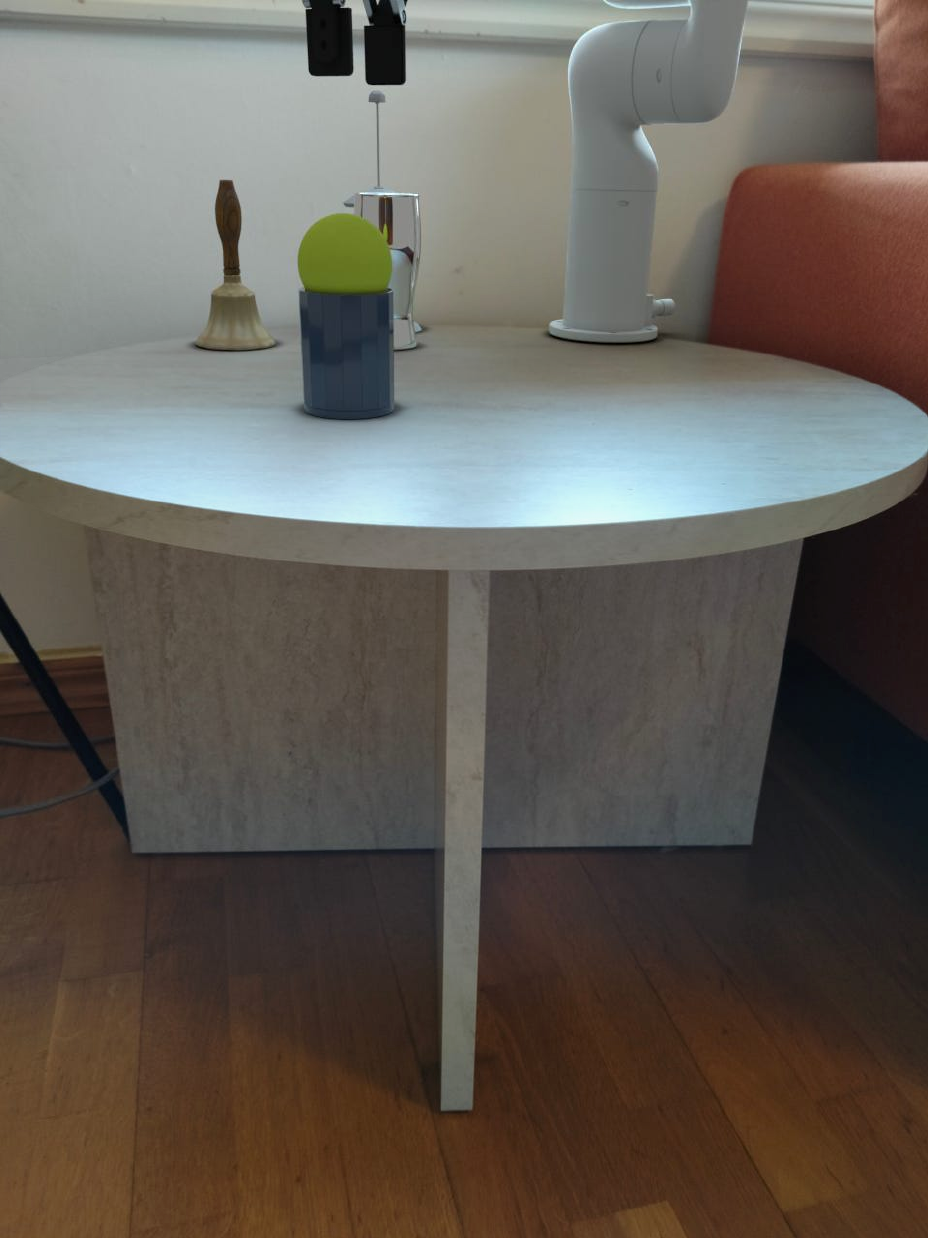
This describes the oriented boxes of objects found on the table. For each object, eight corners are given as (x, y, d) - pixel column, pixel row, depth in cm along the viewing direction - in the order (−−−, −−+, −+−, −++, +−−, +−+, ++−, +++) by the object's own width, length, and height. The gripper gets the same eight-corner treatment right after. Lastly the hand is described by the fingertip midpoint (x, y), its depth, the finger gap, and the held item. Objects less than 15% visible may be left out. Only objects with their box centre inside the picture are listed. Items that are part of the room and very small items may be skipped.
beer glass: (411, 352, 102) (411, 194, 96) (347, 348, 103) (342, 193, 97) (427, 342, 108) (428, 193, 102) (366, 339, 109) (363, 192, 103)
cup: (366, 396, 82) (364, 282, 78) (410, 412, 77) (409, 292, 73) (289, 405, 78) (283, 286, 75) (329, 423, 73) (325, 296, 69)
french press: (391, 337, 111) (388, 85, 100) (309, 328, 116) (299, 87, 106) (437, 327, 118) (439, 92, 108) (359, 319, 124) (353, 94, 113)
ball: (364, 306, 79) (363, 212, 76) (409, 316, 74) (410, 215, 71) (283, 309, 75) (279, 210, 73) (325, 320, 70) (322, 213, 67)
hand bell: (288, 340, 107) (280, 180, 101) (255, 352, 100) (244, 180, 93) (218, 336, 109) (206, 178, 102) (181, 347, 102) (165, 178, 95)
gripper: (348, -269, 57) (358, 71, 64) (448, -180, 72) (447, 87, 79) (233, -255, 59) (256, 72, 66) (353, -172, 74) (361, 88, 81)
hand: (360, 80), depth 72 cm, fingers open, 9 cm apart
